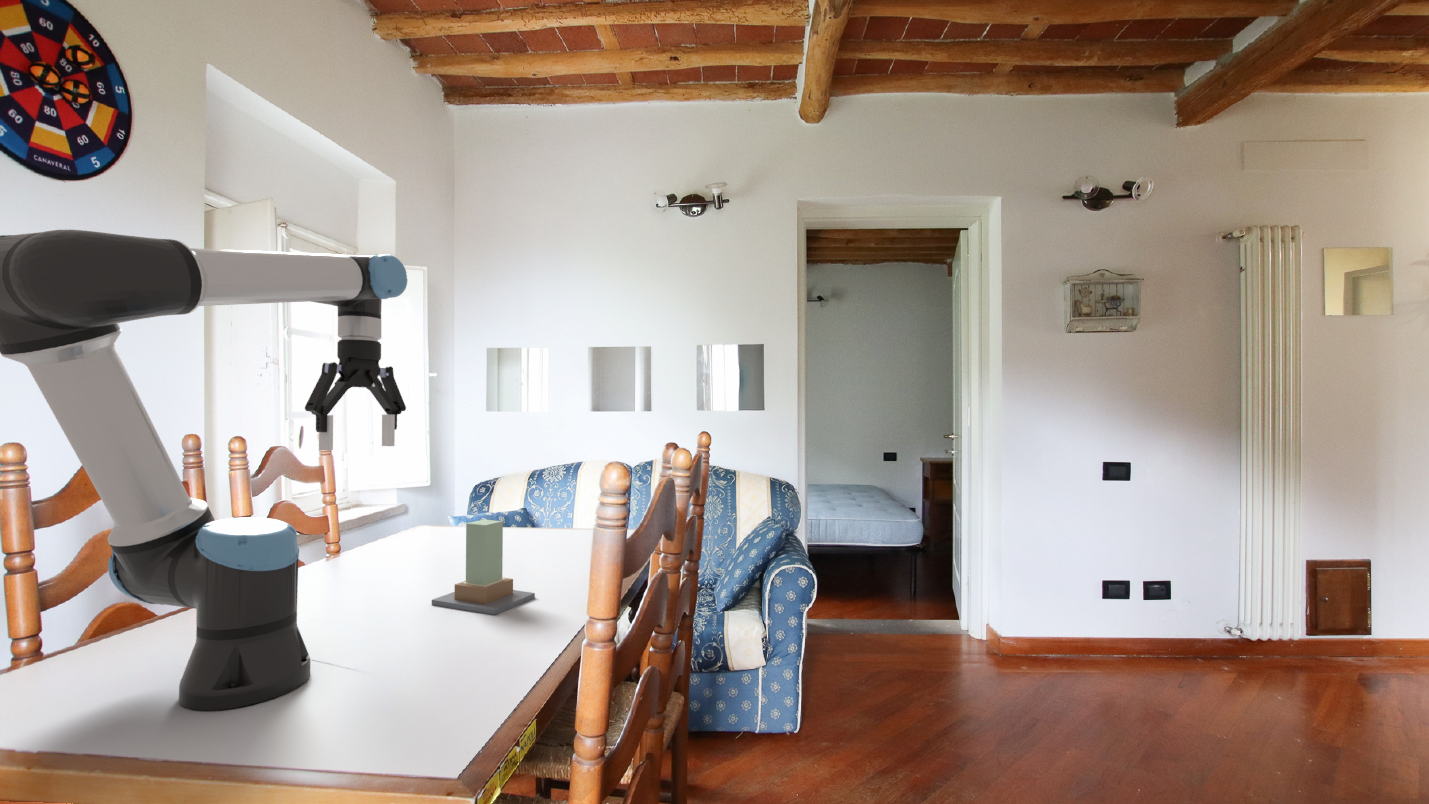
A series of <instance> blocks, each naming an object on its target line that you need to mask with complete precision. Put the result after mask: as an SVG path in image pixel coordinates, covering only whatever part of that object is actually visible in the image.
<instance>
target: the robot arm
mask: <svg viewBox="0 0 1429 804" xmlns="http://www.w3.org/2000/svg"><path fill="white" fill-rule="evenodd" d="M407 285H408V275H407V269H406V267H405V265H404V264H403V263H402V261H401V260H400V259H399V258H398V257H396V256H394V255H391V254H378V253H375V254H373V255H369V254H368V255H359V254H356V255H354V254H335V253H333V254H332V253H311V252H288V251H287V252H286V251H264V250H241V249H239V250H237V249H236V250H235V249H220V248H219V249H218V248H217V249H216V248H212V249H211V248H194V247H193V248H190V247H189V246H188V245H187V244H186V243H184V242H182V241H180V240H177V239H170V238H168V239H167V238H154V237H144V236H135V235H127V234H124V235H123V234H118V233H117V234H116V233H110V232H101V231H100V232H99V231H93V230H92V231H91V230H82V229H81V230H80V229H54V230H48V231H42V232H41V231H40V232H33V233H20V234H7V235H4V234H3V235H2V234H1V235H0V355H1V357H4V358H6V359H9V360H11V361H15V362H18V363H19V364H23V365H24V366H26V367H27V369H28V371H29V372H30V374H31V376H32V377H33V379H34V381H35V383H36V385H37V386H38V389H39V390H40V392H41V394H42V395H43V397H44V399H45V400H46V403H47V405H48V407H49V408H50V410H51V411H52V414H53V415H54V417H55V419H56V421H57V423H58V424H59V426H60V428H61V430H62V431H63V433H64V435H65V437H66V439H67V440H68V442H69V444H70V447H71V448H72V450H73V451H74V453H75V456H76V457H77V459H78V460H79V462H80V463H81V466H82V467H83V469H84V470H85V472H86V474H87V477H88V478H89V480H90V481H91V484H92V486H93V487H94V489H95V490H96V493H97V494H98V496H99V498H100V499H101V501H102V503H103V505H104V507H105V509H106V510H107V513H108V514H109V515H110V518H111V520H113V522H114V526H112V527H113V528H112V529H111V531H110V532H109V534H108V535H107V538H106V540H107V543H108V545H109V546H110V548H111V556H110V557H109V558H108V560H107V561H108V562H107V570H108V571H107V572H108V575H109V578H110V580H111V582H112V584H113V585H114V587H115V588H117V590H119V592H120V593H123V594H124V595H125V596H128V597H129V598H132V599H134V600H138V601H139V602H140V601H141V602H143V603H145V604H146V603H147V604H148V605H149V604H150V605H161V606H164V605H166V606H172V607H181V608H189V609H195V610H196V611H195V612H196V614H195V615H196V620H195V621H196V631H195V632H196V634H195V635H196V636H195V643H194V646H193V648H192V651H191V654H190V656H189V659H188V661H187V663H186V667H185V669H184V671H183V674H182V677H181V678H180V681H179V685H178V702H179V704H180V706H182V707H184V708H186V709H189V710H197V711H219V710H227V709H233V708H234V709H235V708H241V707H245V706H246V707H247V706H249V705H254V704H258V703H261V702H265V701H268V700H271V699H274V698H275V699H276V698H277V697H280V696H282V695H284V694H287V693H289V692H291V691H294V690H296V689H298V687H300V686H302V685H303V684H304V683H305V682H307V680H309V678H310V676H311V657H310V655H309V651H308V649H307V647H306V644H305V642H304V640H303V636H302V633H301V632H300V631H301V630H300V629H299V626H298V591H299V590H298V584H299V582H298V580H299V558H300V548H299V544H298V542H299V541H298V534H297V530H296V529H295V527H294V526H293V525H291V524H290V523H288V522H286V521H283V520H280V519H276V518H270V517H269V518H268V517H251V516H248V517H247V516H246V517H245V516H243V517H242V516H240V517H230V518H223V519H218V520H217V519H216V520H215V518H214V515H213V513H212V511H211V509H210V508H209V506H208V504H207V502H206V501H205V500H203V499H199V498H194V497H192V496H190V495H189V494H188V492H187V490H186V487H185V486H184V484H183V482H182V480H181V478H180V476H179V474H178V471H177V470H176V468H175V466H174V464H173V462H172V460H171V457H170V456H169V454H168V452H167V449H166V447H165V446H164V443H163V441H162V440H161V438H160V435H159V433H158V432H157V429H156V428H155V425H154V423H153V421H152V419H151V418H150V415H149V413H148V411H147V410H146V407H145V405H144V403H143V401H142V399H141V397H140V395H139V393H138V391H137V389H136V387H135V385H134V384H133V383H134V382H133V381H132V379H131V377H130V375H129V373H128V371H127V369H126V368H125V365H124V363H123V361H122V359H121V357H120V355H119V352H118V351H117V349H116V347H115V343H116V341H117V339H118V338H119V337H120V334H122V331H123V329H122V327H121V324H120V323H126V322H131V321H137V320H143V319H150V318H155V317H156V318H157V317H163V316H178V315H179V316H180V315H182V316H183V315H187V314H188V315H189V314H191V313H192V312H194V311H196V310H197V308H199V307H204V306H205V307H207V306H208V307H209V306H229V305H230V306H231V305H232V306H233V305H252V304H253V305H254V304H276V303H277V304H279V303H281V304H282V303H303V302H304V303H305V302H307V303H308V302H310V303H311V302H312V303H317V304H324V305H330V306H334V307H337V337H338V338H340V339H339V340H338V341H337V349H336V350H337V353H336V354H337V358H338V360H339V361H338V363H337V362H335V361H333V362H331V361H330V362H329V361H328V362H323V363H322V366H321V374H320V376H319V378H318V380H317V382H316V384H315V386H314V387H313V390H312V392H311V394H310V396H309V398H308V400H307V402H306V403H305V406H304V410H305V411H306V412H309V413H311V415H315V431H316V433H318V434H319V435H318V437H319V438H318V439H319V440H318V450H319V451H333V450H334V415H333V414H330V412H331V411H332V410H333V409H334V408H335V406H336V405H337V404H338V403H339V401H340V400H341V399H342V397H343V396H344V395H345V394H346V393H347V392H348V390H349V389H351V388H366V389H367V390H369V391H370V393H371V394H372V395H373V398H375V399H376V401H377V402H378V404H379V405H380V406H381V408H382V410H383V411H384V412H385V414H381V447H395V440H396V439H395V438H396V437H395V434H396V433H395V432H396V431H395V430H397V428H398V415H401V414H402V412H405V411H407V407H406V404H405V402H404V400H403V399H404V398H403V396H402V395H401V394H402V393H401V392H400V390H399V387H398V384H397V382H396V379H395V377H394V376H395V375H394V368H393V366H390V365H389V366H380V365H379V364H380V363H379V362H380V360H381V359H382V344H381V342H379V341H380V340H381V339H382V304H383V303H382V302H383V301H382V300H387V299H390V298H392V299H393V298H398V297H399V296H401V295H403V293H404V292H405V290H406V289H407ZM337 374H339V377H338V378H337V380H335V379H336V376H337ZM379 377H380V378H379ZM334 381H335V382H334ZM333 383H334V386H333V387H332V385H333ZM331 387H332V388H331Z"/></svg>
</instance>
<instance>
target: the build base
mask: <svg viewBox="0 0 1429 804" xmlns="http://www.w3.org/2000/svg"><path fill="white" fill-rule="evenodd" d="M535 598H536V593H535V592H531V591H523V590H515V589H514V578H510V577H509V578H508V577H502V579H501V580H498V581H496V582H493V583H490V584H487V585H480V584H473V583H466V580H464V581H461V582H458V583H455V584H454V591H453V592H450V593H447V594H445V595H441V596H439V597H436V598H433V599H431V605H432V606H436V607H444V608H450V609H455V610H461V611H468V612H472V613H473V612H474V613H480V614H487V615H492V616H496V615H498V614H501V613H503V612H505V611H507V610H510V609H511V608H512V609H513V608H515V607H517V606H519V605H521V604H523V603H526V602H528V601H530V600H531V601H532V600H533V599H535Z"/></svg>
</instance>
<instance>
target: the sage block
mask: <svg viewBox="0 0 1429 804" xmlns="http://www.w3.org/2000/svg"><path fill="white" fill-rule="evenodd" d="M503 523H504V521H503V520H492V519H481V520H475V521H471V522H467V523H465V533H466V534H465V538H466V539H465V581H466V583H473V584H480V585H487V584H490V583H493V582H496V581H498V580H501V579H502V578H503V559H504V558H503V556H504V555H503V553H504V552H503V550H504V548H503V543H504V542H503V539H504V537H503V536H504V534H503V533H504V531H503V530H504V524H503Z"/></svg>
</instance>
